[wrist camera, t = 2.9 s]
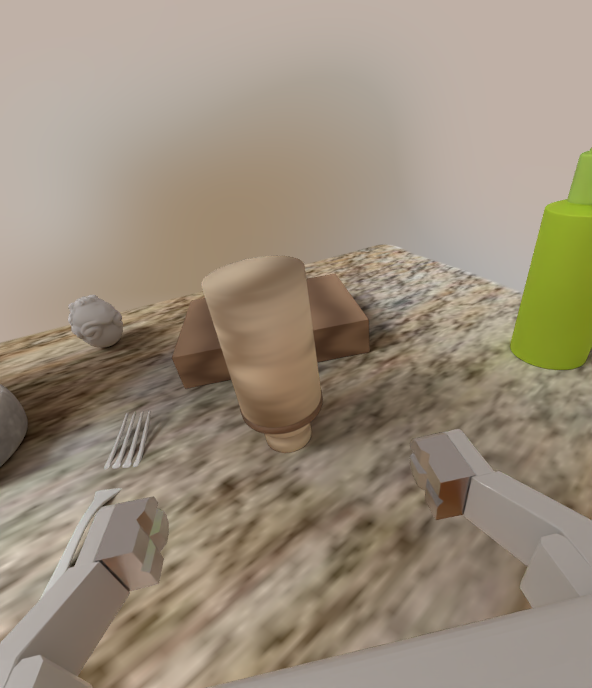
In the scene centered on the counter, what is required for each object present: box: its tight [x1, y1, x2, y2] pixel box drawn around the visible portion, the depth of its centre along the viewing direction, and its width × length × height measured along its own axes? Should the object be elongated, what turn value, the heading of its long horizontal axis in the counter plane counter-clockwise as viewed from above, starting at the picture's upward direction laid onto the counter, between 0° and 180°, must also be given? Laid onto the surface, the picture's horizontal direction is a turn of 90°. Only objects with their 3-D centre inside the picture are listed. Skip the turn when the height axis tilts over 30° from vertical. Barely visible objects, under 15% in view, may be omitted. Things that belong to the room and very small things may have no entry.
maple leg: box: [202, 256, 323, 453], centre depth 23 cm, size 6×6×14 cm
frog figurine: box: [68, 295, 123, 348], centre depth 43 cm, size 6×7×7 cm
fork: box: [40, 411, 151, 599], centre depth 20 cm, size 3×24×2 cm, turn 1°
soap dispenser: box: [510, 148, 592, 370], centre depth 25 cm, size 6×7×20 cm
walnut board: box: [172, 274, 369, 389], centre depth 39 cm, size 20×14×4 cm
